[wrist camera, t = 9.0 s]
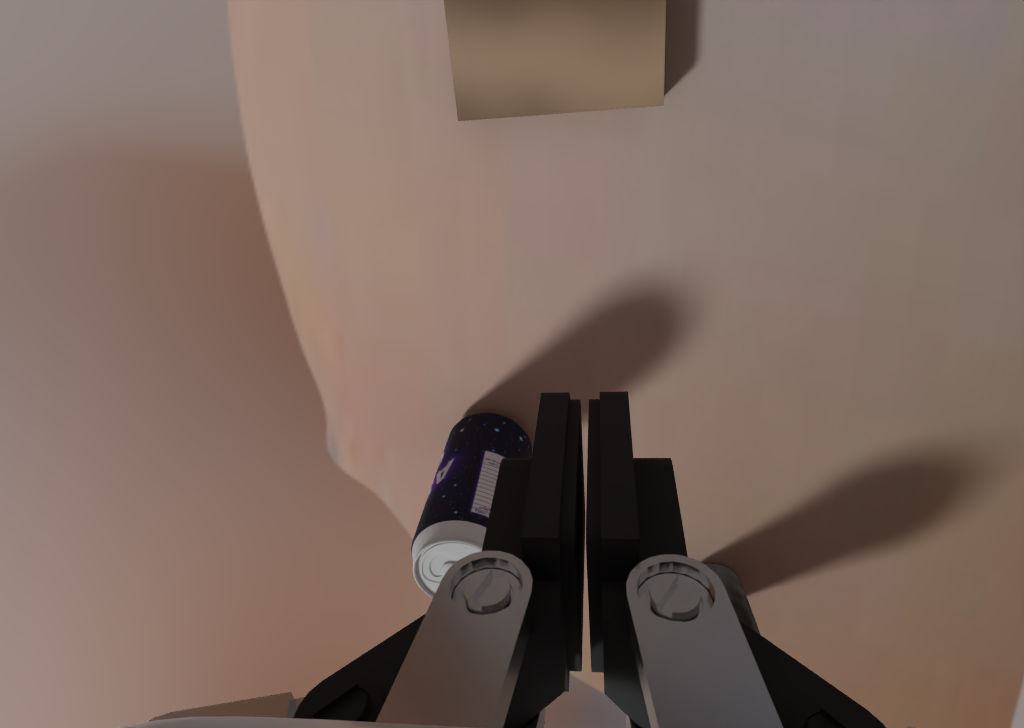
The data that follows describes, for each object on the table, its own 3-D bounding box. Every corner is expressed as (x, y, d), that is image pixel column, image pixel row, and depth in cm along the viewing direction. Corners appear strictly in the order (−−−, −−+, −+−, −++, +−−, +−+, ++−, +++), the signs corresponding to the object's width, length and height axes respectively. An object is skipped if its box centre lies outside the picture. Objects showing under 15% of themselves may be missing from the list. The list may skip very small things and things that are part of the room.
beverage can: (459, 396, 42) (414, 522, 32) (542, 418, 42) (524, 551, 32) (443, 462, 45) (397, 598, 35) (521, 482, 45) (499, 624, 35)
